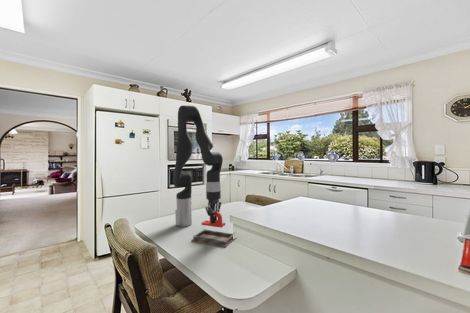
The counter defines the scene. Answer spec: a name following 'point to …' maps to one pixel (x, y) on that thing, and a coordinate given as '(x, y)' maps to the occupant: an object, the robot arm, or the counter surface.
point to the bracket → (217, 222)
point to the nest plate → (213, 238)
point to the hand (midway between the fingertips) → (213, 222)
